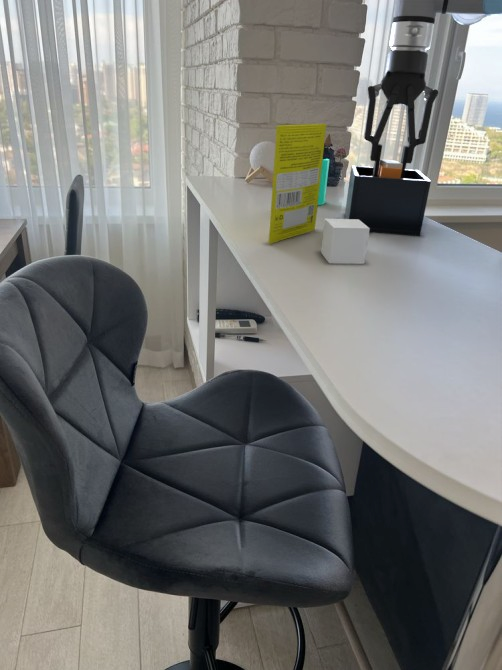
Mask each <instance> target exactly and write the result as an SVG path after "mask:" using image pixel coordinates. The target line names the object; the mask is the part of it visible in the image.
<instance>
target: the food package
mask: <svg viewBox="0 0 502 670" xmlns="http://www.w3.org/2000/svg"><path fill="white" fill-rule="evenodd" d="M275 128H276V132H275V146H274V159H273V160H274V163H273V177H272V190H271V206H270V218H269V220H270V221H269V234H268V245H271V244H274V243H277V242H281V241H284V240H287V239H291V238H293V237H296V236H300V235H303V234H307V233H310V232H313V231H315V230H316V224H317V223H316V222H317V215H318V206H319V205H318V196H319V187H320V178H321V169H322V160H324V150H325V140H326V131H327V123H308V124H307V123H306V124H305V123H304V124H281V125H280V124H279V125H276V127H275Z"/></svg>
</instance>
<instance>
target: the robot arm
mask: <svg viewBox="0 0 502 670" xmlns="http://www.w3.org/2000/svg"><path fill="white" fill-rule="evenodd" d="M393 8H394V10H393V15H392V23H391V29H390V35H389V42H388V47H389V48H390V50H389V51H388V52H387V54H386V55H387V56H386V62H385V68H384V74H383V78H382V80H381V81H380V83H377V84H374V85H368V86H367V87H366V92H367V97H368V102H367V110H366V117H365V125H364V132H363V139H364V140H365V141H367V142H370V143H371V146H370V153H369V154H370V155H369V159H370V162H374V163H373V167H374V169H373V176H372V177H378V170H379V164H380V160H381V157H382V150H383V144H382V143H380V141H381V139H382V136H383V133H384V131H385V128H386V126H387V124H388V120H389V117H390V115H391V113H392V110H393V108H394V105H395V106H396V105H402V106H405V116H406V118H405V119H406V136H407V139H406V140H407V145H403V147H402V153H401V158H400V163H402V164H403V166H402V172H401V177H400V179H404V174H405V170H406V169H407V168H406V167H407V164H412V162H413V159H414V158H413V157H414V153H415V148H416V147H417V146H419V145H423V144H426V140H427V136H428V130H429V125H430V120H431V115H432V112H433V111H432V110H433V105H434V102H435V100H436V99H437V97H438V95H439V89H433V88H432V87H430V86H427V82H426V72H427V67H428V60H429V55H430V54H429V53H428V52H427V50H429V49H431V44H432V37H433V33H434V26H435V21H436V16H437V14H440V15H452V17H453V20H454V21H455V22H457V23H458V24H460V25H463V26H472V25H474V24H477V23H479V22H481V21H482V20H483V19H485V18H486V17H490V16H499V15H502V0H395V2H394V7H393ZM380 91H382V93H383V95H384V97H385V98H386V99H385V100H386V101H385V103H384V108H383V110H382V112H381V115H380V119H379V120H378V123H377V126H376V129H375V131H374V134H373V135H372V132H373V131H372V130H373V125H374V124H373V123H374V118H375V117H374V116H375V109H376V102H377V97H379V95H380ZM422 93H423V99H424V103H423V107H422V113H421V119H420V124H419V130H418V134H417V137H416V119H415V101H416V100H417V99H418V98H419V96H420V95H421V94H422Z"/></svg>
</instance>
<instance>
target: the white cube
mask: <svg viewBox="0 0 502 670" xmlns="http://www.w3.org/2000/svg"><path fill="white" fill-rule="evenodd" d="M369 230H370V228H369V227H367V226H366V225H365V224H364V223H362V222H361V221H360V220H359V219H346V218H324V222H323V232H322V240H321V249H320V253H321V255H322V256H323V257H324V258H325V260H326V261H327V263H328V264H338V265H339V264H340V265H341V264H342V265H343V264H344V265H345V264H346V265H347V264H348V265H349V264H350V265H365V261H366V255H367V248H368V241H369V236H370V232H369Z"/></svg>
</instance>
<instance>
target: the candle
mask: <svg viewBox="0 0 502 670" xmlns="http://www.w3.org/2000/svg"><path fill="white" fill-rule="evenodd" d="M329 167H330V159H329V158H323V160H322V169H321V178H320V187H319V196H318V206H323V205H325V203H326V194H327V185H328V177H329Z"/></svg>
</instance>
